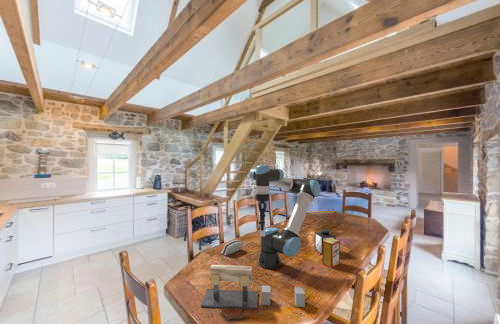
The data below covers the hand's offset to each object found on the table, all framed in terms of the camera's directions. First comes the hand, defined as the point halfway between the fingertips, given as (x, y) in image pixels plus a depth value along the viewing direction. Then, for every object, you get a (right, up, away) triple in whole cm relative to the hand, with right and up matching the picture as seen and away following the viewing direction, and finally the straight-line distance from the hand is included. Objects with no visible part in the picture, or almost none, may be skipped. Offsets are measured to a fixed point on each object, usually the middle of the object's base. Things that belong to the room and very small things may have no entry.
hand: (262, 232), depth 114 cm
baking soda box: (+47, -30, +24) cm, 61 cm away
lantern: (+51, -30, +44) cm, 74 cm away
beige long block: (-16, -18, -13) cm, 28 cm away
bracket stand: (-16, -28, -14) cm, 35 cm away
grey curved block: (-20, -30, +42) cm, 55 cm away
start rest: (+9, -29, -15) cm, 33 cm away
